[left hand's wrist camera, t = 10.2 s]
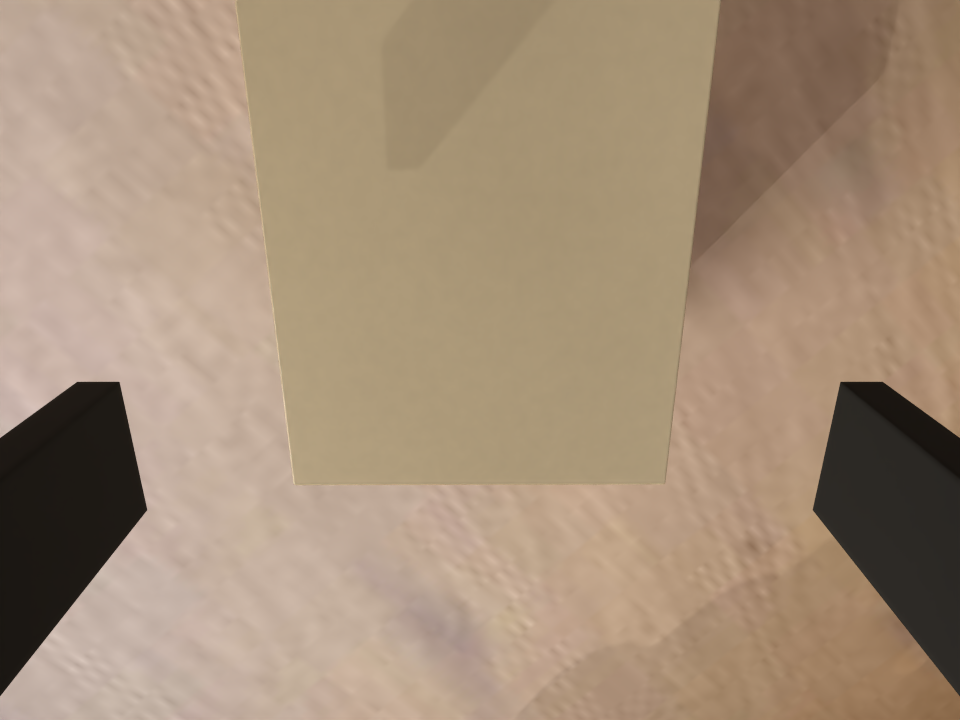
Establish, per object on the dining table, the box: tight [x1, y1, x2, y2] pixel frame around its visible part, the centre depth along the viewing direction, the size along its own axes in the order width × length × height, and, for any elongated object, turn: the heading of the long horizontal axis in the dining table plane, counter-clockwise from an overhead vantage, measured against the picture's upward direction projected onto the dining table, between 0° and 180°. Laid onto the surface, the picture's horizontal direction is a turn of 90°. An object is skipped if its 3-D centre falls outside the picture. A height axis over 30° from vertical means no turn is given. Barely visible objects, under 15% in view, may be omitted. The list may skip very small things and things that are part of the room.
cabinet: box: [235, 0, 721, 485], centre depth 20 cm, size 20×10×10 cm, turn 0°
